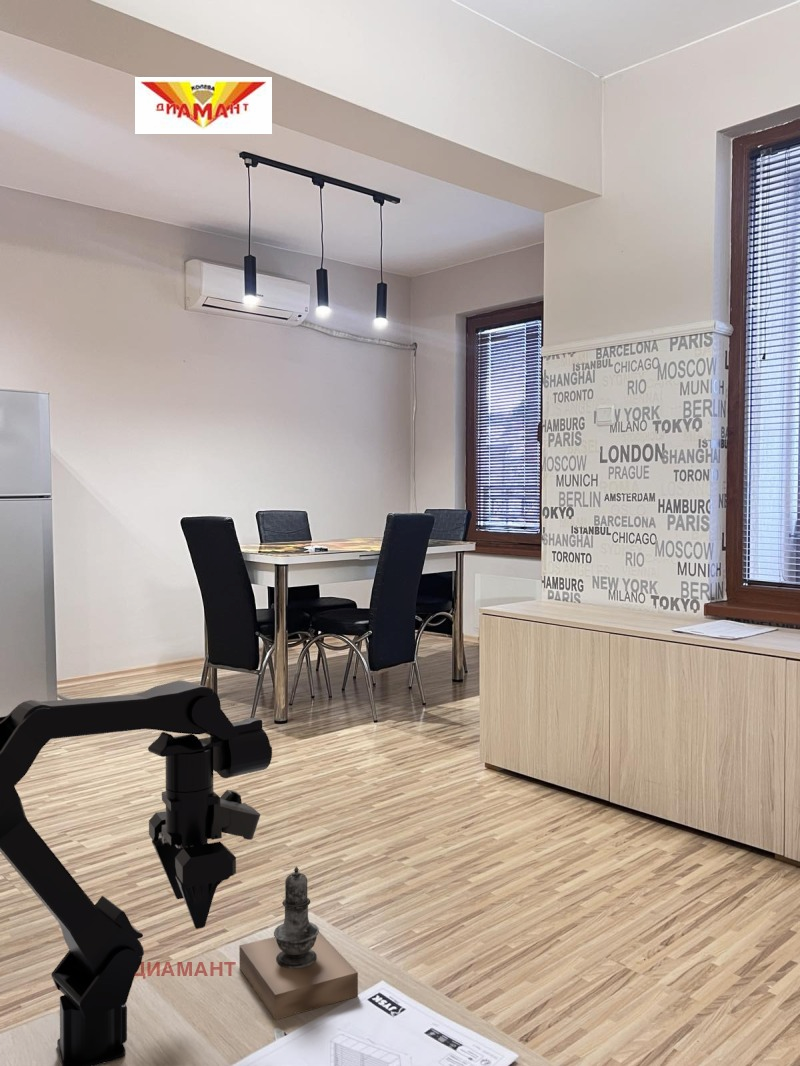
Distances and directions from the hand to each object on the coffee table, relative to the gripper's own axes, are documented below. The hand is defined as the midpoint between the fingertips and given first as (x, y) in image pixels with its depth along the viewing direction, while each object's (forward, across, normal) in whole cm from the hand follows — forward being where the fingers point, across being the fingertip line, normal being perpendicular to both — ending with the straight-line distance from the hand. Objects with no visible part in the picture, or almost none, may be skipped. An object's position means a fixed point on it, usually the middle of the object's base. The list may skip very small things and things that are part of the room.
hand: (189, 912), depth 105 cm
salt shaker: (+9, 0, -14) cm, 17 cm away
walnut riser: (+12, 0, -14) cm, 18 cm away
